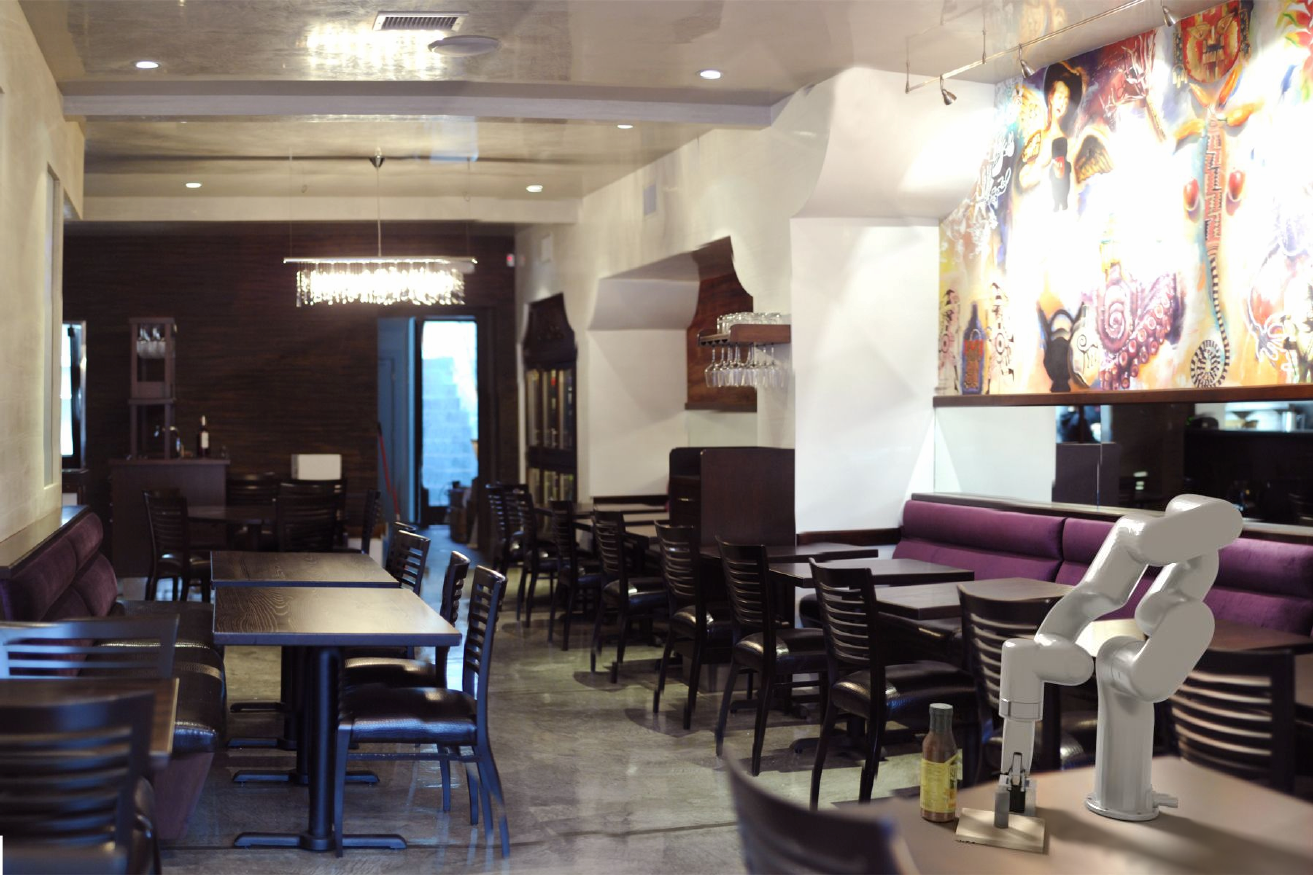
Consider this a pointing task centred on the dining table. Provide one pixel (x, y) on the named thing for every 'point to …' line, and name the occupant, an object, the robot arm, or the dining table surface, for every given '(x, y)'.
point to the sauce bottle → (939, 767)
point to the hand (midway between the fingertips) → (1016, 803)
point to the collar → (1029, 796)
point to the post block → (1001, 827)
